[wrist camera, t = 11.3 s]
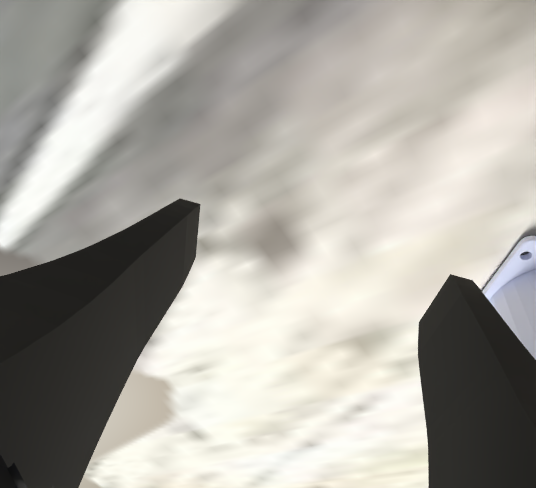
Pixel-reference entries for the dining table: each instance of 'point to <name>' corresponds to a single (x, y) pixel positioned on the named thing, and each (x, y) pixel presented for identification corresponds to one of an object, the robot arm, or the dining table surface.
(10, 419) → the robot arm
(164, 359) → the dining table surface
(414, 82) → the dining table surface
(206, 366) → the dining table surface
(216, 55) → the dining table surface
